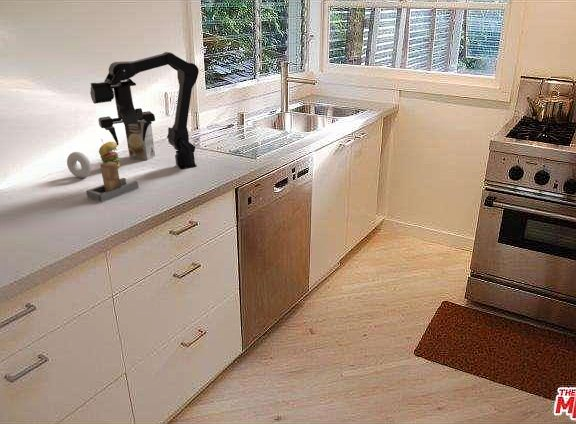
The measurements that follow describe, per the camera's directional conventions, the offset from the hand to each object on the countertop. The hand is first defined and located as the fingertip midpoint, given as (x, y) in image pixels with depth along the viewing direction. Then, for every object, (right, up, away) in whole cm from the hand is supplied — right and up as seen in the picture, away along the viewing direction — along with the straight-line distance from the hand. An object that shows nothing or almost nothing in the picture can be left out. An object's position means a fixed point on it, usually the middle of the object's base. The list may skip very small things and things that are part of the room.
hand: (130, 142), depth 181 cm
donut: (-21, -12, +7) cm, 25 cm away
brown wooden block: (-3, -18, -10) cm, 21 cm away
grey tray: (-3, -19, -10) cm, 21 cm away
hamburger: (-12, -8, +16) cm, 22 cm away
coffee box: (-4, -2, +28) cm, 29 cm away
